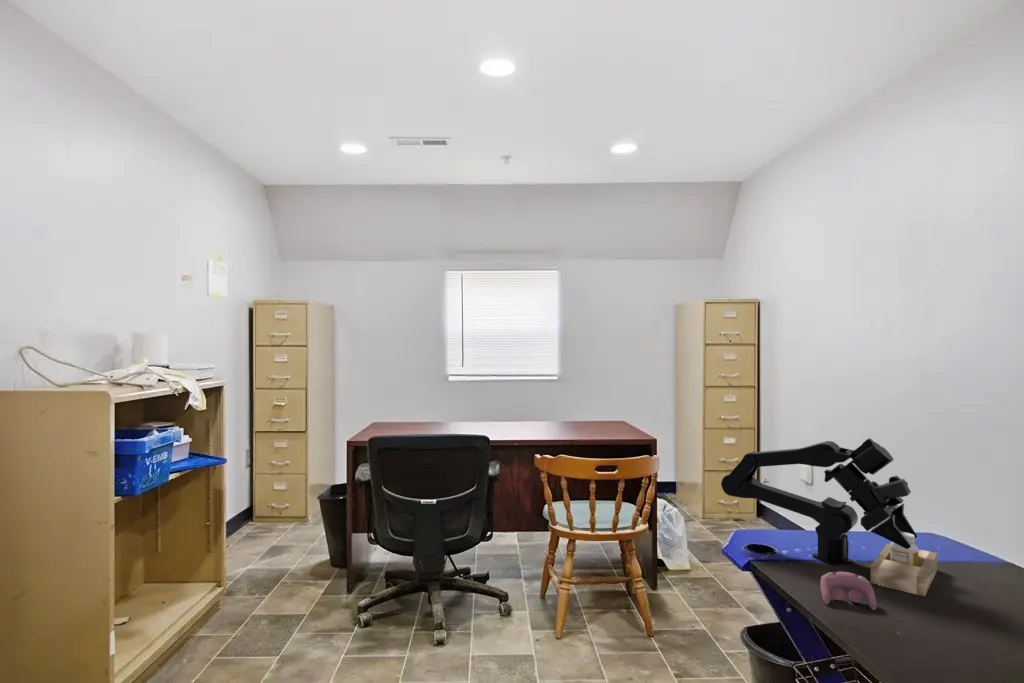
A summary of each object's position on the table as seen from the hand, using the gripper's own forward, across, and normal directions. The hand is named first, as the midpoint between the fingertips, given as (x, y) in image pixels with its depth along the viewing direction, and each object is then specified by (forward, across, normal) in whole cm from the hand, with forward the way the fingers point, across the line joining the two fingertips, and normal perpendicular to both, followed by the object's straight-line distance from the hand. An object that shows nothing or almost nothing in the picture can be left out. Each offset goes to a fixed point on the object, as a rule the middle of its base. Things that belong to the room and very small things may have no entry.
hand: (912, 542), depth 133 cm
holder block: (+5, 0, +7) cm, 8 cm away
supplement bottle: (+5, 0, +7) cm, 8 cm away
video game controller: (0, -25, +12) cm, 27 cm away
